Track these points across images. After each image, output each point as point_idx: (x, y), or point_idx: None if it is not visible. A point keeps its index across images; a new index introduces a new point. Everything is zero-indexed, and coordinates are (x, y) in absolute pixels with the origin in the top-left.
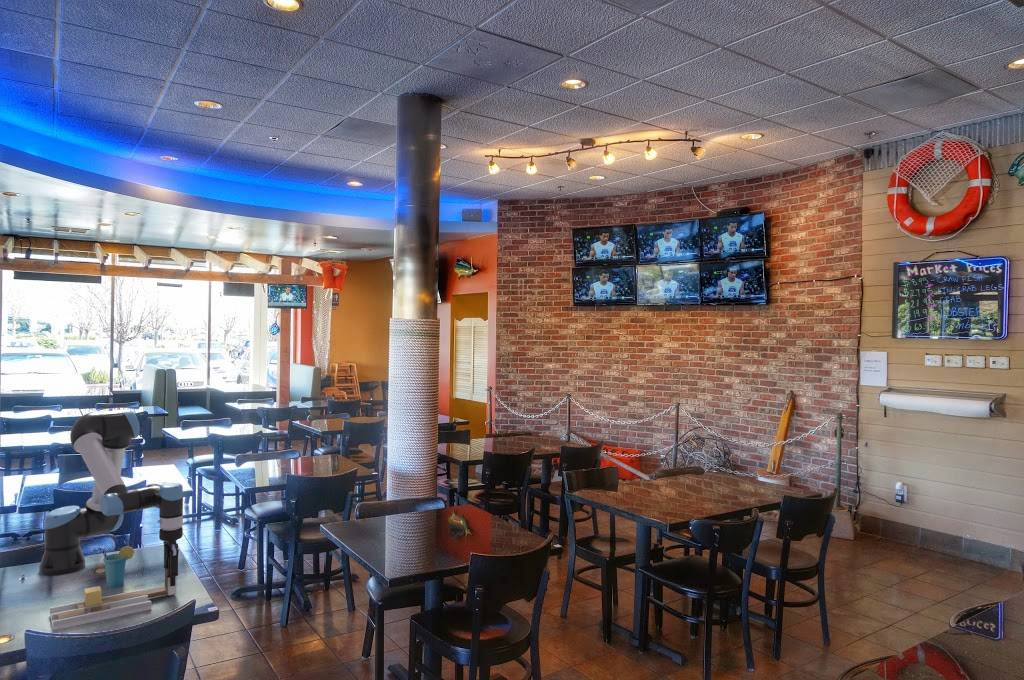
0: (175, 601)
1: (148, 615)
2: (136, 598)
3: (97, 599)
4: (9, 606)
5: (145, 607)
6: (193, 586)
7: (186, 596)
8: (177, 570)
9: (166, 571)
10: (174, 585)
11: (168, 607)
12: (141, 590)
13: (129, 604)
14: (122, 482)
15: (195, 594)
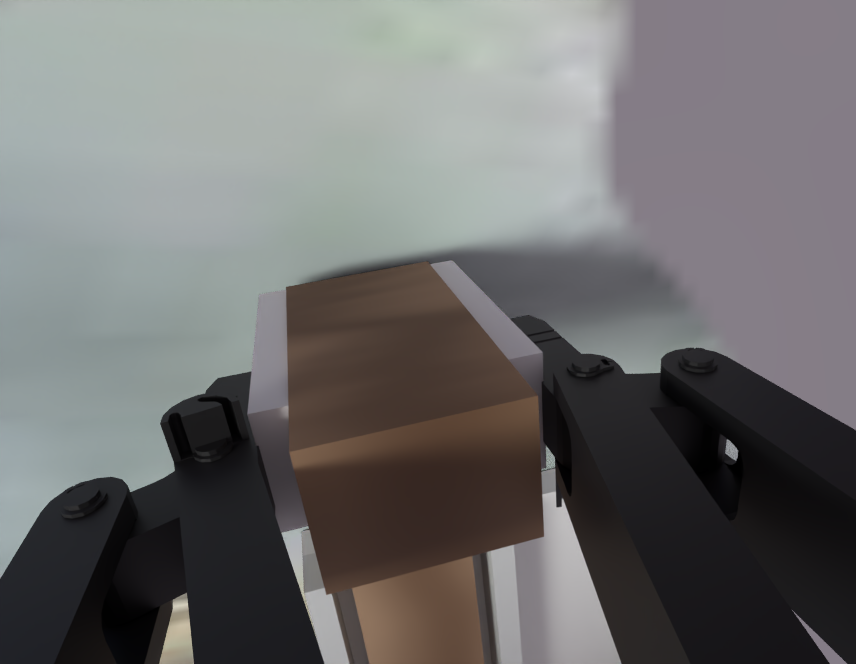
0: (567, 261)
1: (732, 454)
2: (515, 607)
3: None
4: None
5: None
6: (141, 9)
7: (485, 141)
8: (795, 406)
9: (468, 549)
10: (534, 324)
11: (673, 321)
12: (336, 608)
13: (523, 615)
14: None
15: (472, 25)
